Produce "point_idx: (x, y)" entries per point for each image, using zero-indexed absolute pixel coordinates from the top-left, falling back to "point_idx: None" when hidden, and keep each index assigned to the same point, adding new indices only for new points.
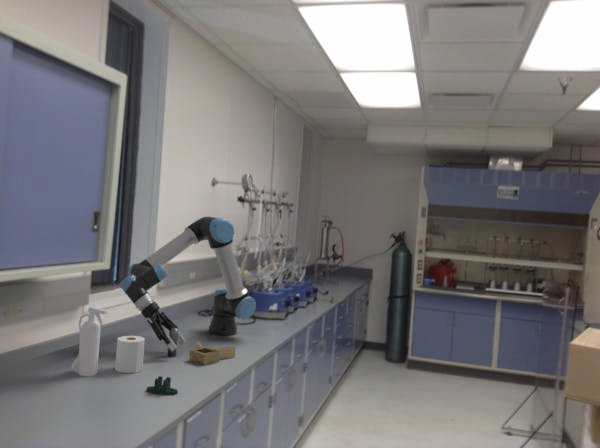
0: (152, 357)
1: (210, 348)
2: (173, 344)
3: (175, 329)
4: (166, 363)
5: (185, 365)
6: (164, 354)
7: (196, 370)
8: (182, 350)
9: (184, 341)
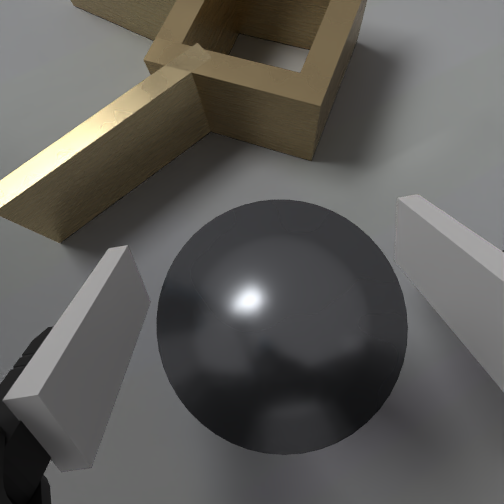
0: (429, 467)
1: (172, 11)
2: (448, 221)
3: (348, 224)
4: None
5: (435, 125)
6: None
7: (480, 25)
8: None
9: (127, 256)
